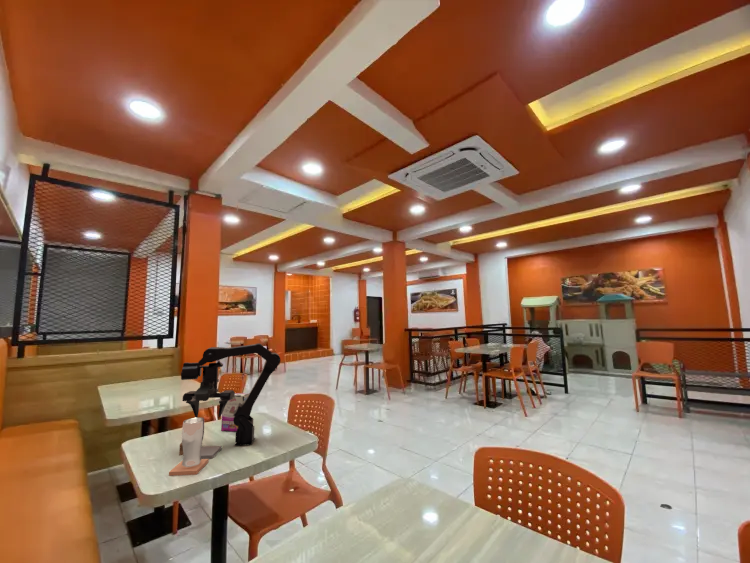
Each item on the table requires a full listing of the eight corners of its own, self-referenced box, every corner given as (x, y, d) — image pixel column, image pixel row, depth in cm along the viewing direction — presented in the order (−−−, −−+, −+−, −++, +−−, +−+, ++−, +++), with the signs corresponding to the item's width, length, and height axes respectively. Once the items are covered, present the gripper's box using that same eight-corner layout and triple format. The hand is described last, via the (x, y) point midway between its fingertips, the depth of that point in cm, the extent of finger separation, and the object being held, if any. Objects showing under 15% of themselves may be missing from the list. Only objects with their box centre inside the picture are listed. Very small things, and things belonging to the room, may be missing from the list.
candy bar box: (248, 428, 150) (249, 393, 152) (242, 432, 146) (243, 395, 147) (227, 427, 152) (228, 392, 154) (220, 431, 147) (222, 394, 149)
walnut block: (193, 450, 127) (193, 439, 127) (190, 454, 123) (191, 443, 124) (181, 451, 126) (182, 441, 126) (179, 455, 122) (179, 444, 122)
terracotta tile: (208, 462, 116) (208, 458, 116) (196, 474, 107) (196, 470, 107) (182, 463, 115) (183, 459, 115) (168, 475, 106) (169, 471, 106)
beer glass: (175, 469, 108) (177, 423, 110) (187, 459, 115) (190, 417, 117) (195, 469, 108) (197, 423, 110) (206, 460, 115) (208, 417, 117)
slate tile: (221, 448, 128) (221, 445, 128) (212, 458, 119) (212, 455, 119) (198, 449, 127) (198, 446, 127) (187, 459, 118) (187, 456, 118)
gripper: (176, 382, 123) (173, 424, 121) (225, 381, 125) (223, 423, 123) (190, 377, 134) (188, 415, 132) (235, 376, 136) (234, 414, 134)
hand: (208, 417), depth 130 cm, fingers open, 9 cm apart
